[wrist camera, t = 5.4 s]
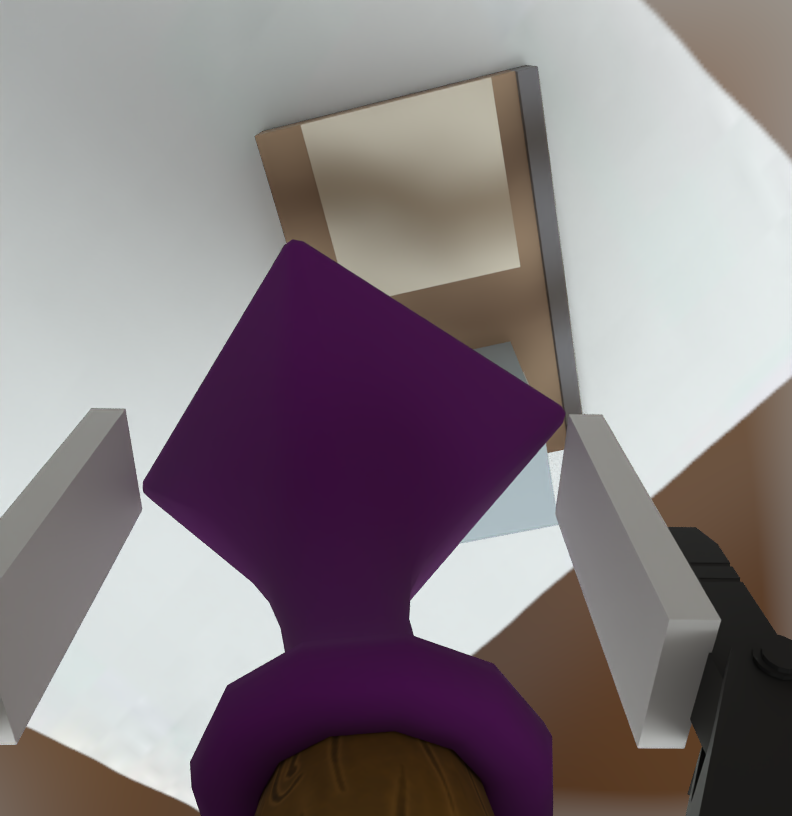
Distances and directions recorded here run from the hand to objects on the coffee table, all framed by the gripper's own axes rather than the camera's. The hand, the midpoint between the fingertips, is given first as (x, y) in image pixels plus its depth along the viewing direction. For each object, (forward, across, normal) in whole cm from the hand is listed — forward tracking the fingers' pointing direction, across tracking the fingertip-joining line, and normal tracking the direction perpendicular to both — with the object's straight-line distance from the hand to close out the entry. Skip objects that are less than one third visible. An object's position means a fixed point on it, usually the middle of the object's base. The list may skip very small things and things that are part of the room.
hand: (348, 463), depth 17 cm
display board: (+20, +3, -2) cm, 20 cm away
